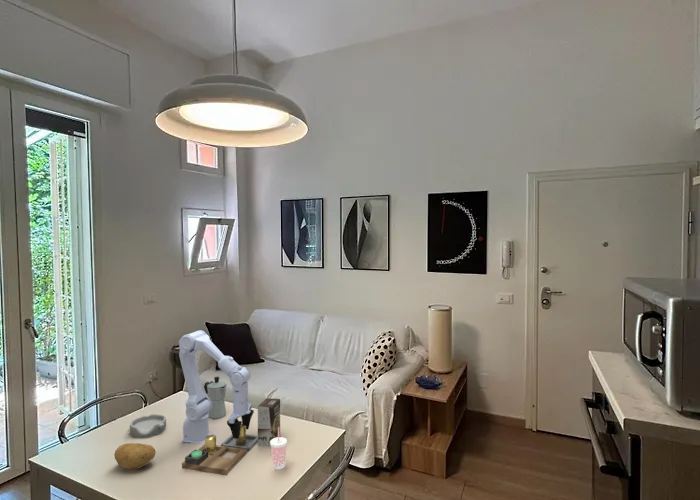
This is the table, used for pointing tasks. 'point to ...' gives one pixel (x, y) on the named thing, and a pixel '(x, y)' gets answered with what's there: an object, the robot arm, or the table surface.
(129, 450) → the potato
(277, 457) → the beverage cup
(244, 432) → the cylinder
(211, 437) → the seated billet
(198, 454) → the button
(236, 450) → the pallet board
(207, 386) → the coffee maker
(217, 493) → the table surface
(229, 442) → the tote
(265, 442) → the coffee box
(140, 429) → the dish
